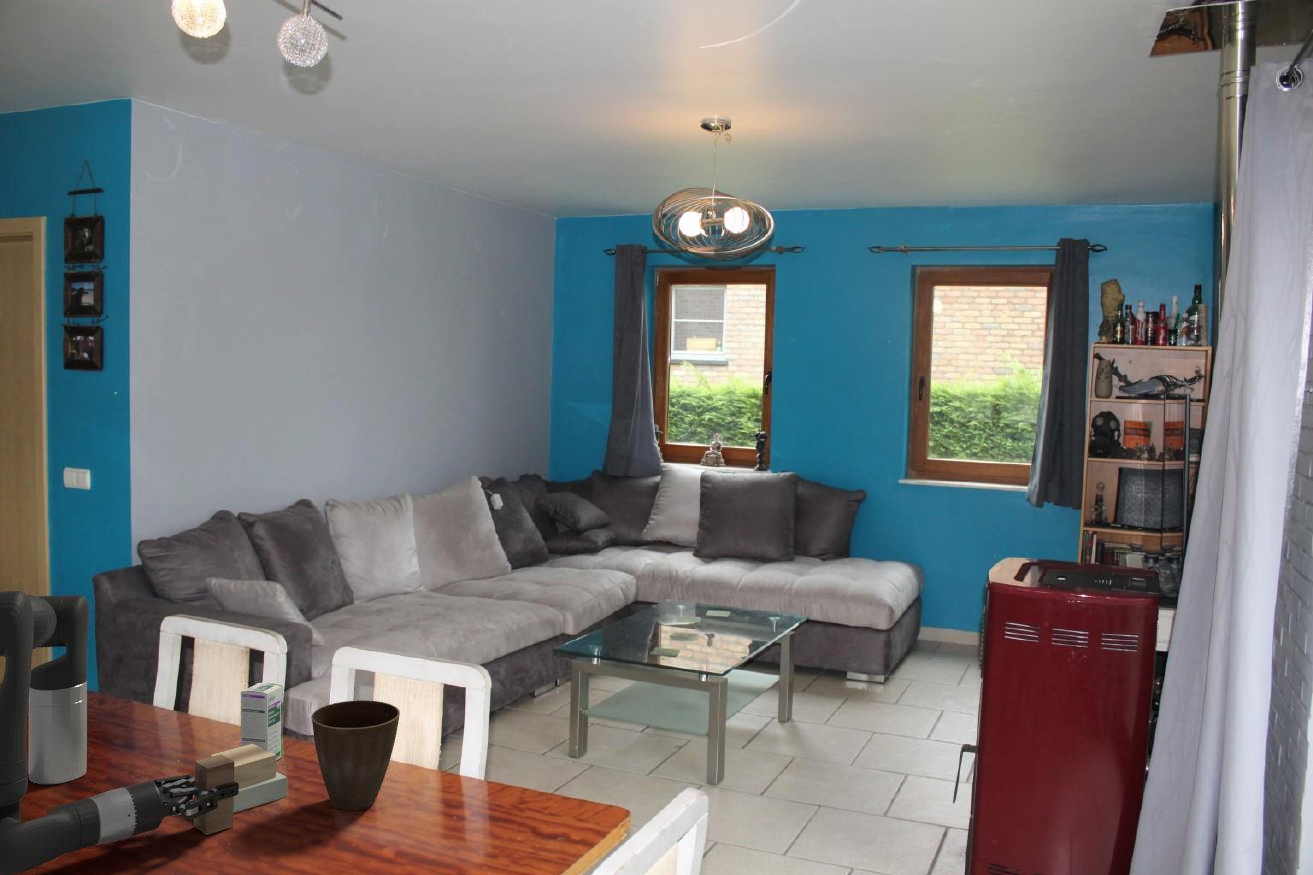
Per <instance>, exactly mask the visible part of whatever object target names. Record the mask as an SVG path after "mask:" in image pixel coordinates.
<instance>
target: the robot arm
mask: <svg viewBox="0 0 1313 875" xmlns="http://www.w3.org/2000/svg"><path fill="white" fill-rule="evenodd" d="M89 628H90V605H89V601H88V599H87V598H86V596H83V595H81V594H80V595H79V594H68V595H67V594H65V595H61V594H60V595H39V596H37V595H36V596H35V595H32V594H26V593H25V592H24V591H21V590H10V591H9V590H8V591H0V657H3V658H5V666H4V674H3V677H2V680H1V681H2V682H1V684H0V875H18V874H21V873H25V872H27V871H30V870H32V869H35V868H37V867H39V866H42V865H43V864H46V863H48V862H50V861H52V860H54V859H56V858H58V857H60V856H63V855H65V854H68V853H73V852H77V851H80V850H83V849H87V848H90V847H93V846H97V845H103V844H108V843H113V842H118V841H119V840H124V839H127V838H130V837H133V836H137V835H141V834H143V833H144V834H145V833H147V832H151V831H155V830H157V829H158V828H159V827H160V825H161V824H162V821H163V820H164V819H165V818H166V817H174V816H179V815H184V820H185V821H192V820H194V818H196V817H199V816H201V815H203V814H205V813H208V812H210V811H212V810H214V809H217V808H218V801H219V800H223V799H226V798H230V797H233V796H236V795H238V793H239V784H238V783H237V782H235V781H234V782H231V783H227V784H224V785H220V786H216V787H212V788H205V789H201V788H200V787H194V783H195V776H192V775H191V774H183V775H176V776H171V777H169V776H168V777H164V778H163V777H162V778H158V779H153V780H145V781H142V782H138V783H135V784H134V783H133V784H131V785H127V786H123V787H120V788H115V789H111V790H107V791H105V792H102V793H99V794H96V795H93V796H91V797H87V798H84V799H80V800H75V801H71V802H68V803H65V804H61V805H58V806H55V807H54V808H52V809H51V810H49V811H48V813H47V814H46V815H43V816H40V817H37V818H33V819H29V820H26V821H21V802H22V799H23V798H24V796H26V793H27V791H28V786H29V785H28V783H29V782H30V781H31V782H30V783H32V782H33V784H36V783H37V785H57V784H63V783H67V782H71V781H74V780H76V779H79V778H82V776H84V775H85V774H86V773H87V762H88V761H87V754H88V753H87V750H88V748H87V746H88V745H87V744H88V743H87V742H88V739H87V738H88V734H87V733H88V727H87V726H88V725H87V724H88V710H87V709H88V691H87V690H88V673H87V672H88V645H89V644H88V643H89V630H90V629H89ZM56 647H57V648H58V647H59V648H60V647H63V648H64V647H65V653H63V654H62V655H60V656H59V657H57V658H55V659H52V660H49V661H47V662H44V663H41V664H39V665H37V666H35V667H33V668H32V664H33V663H32V662H33V653H34V652H33V651H34V650H35V649H37V648H40V649H42V648H56ZM27 716H28V717H27ZM27 718H28V752H27ZM27 753H28V754H27ZM27 755H28V756H27ZM28 778H29V779H28ZM29 780H30V781H29ZM194 793H195V799H194ZM203 794H206V795H204V796H202V795H203ZM201 796H202V797H201Z"/></svg>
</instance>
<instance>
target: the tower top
mask: <svg viewBox="0 0 1313 875" xmlns="http://www.w3.org/2000/svg"><path fill="white" fill-rule="evenodd" d="M220 754H222V755H224V756H226V757H227V758H229V759H231V760H232V761H234V781H235V782H237V783H238V784H239V788H241V787H245V786H248V785H251V784H255V783H258V782H261V781H265V780H268V779H271V778H275V777H276V772H277V760H276V755H275V754H273V753H271V752H269V751H267V750H265V749H263V748H261V747H259V746H257V745H254V744H250V745H246V746H242V747H241V746H238V747H236V748H230V749H227V750H224V751H221V752H217V753H213V754H212V753H211V754H210V755H209V757H213V756H216V755H220Z"/></svg>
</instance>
